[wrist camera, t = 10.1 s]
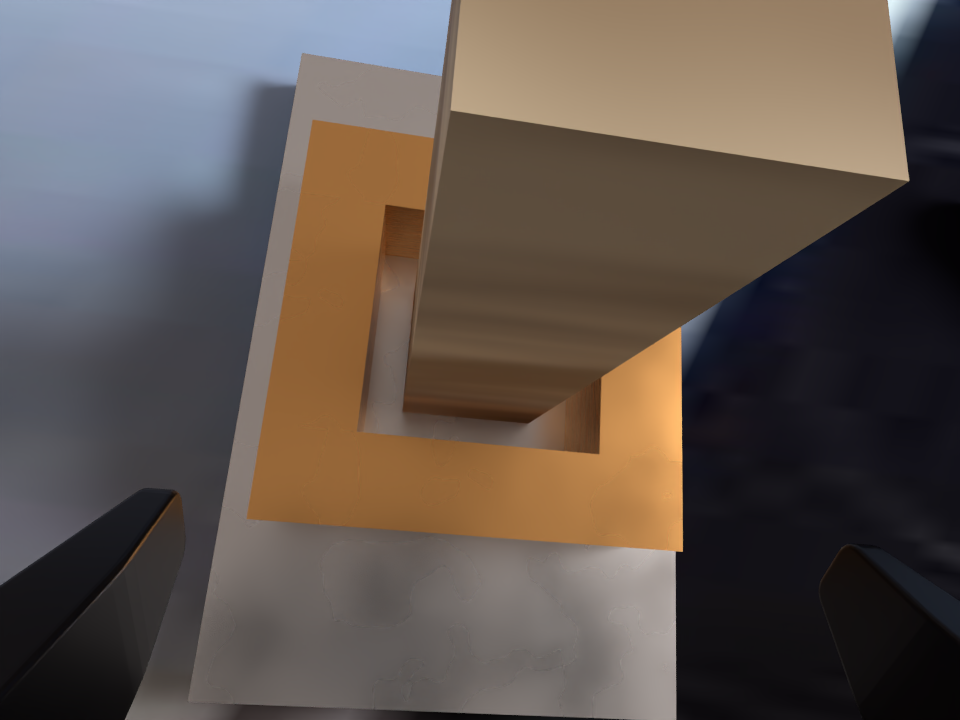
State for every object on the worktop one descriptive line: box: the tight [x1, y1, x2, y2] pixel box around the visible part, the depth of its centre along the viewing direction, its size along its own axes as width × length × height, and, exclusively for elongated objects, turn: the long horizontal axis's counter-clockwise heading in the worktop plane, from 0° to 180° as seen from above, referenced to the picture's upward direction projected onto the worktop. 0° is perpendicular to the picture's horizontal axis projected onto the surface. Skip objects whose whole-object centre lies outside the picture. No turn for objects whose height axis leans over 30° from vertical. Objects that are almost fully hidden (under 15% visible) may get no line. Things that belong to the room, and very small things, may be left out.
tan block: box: [402, 0, 909, 424], centre depth 11 cm, size 4×4×13 cm
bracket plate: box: [188, 53, 683, 720], centre depth 17 cm, size 18×12×4 cm, turn 175°
